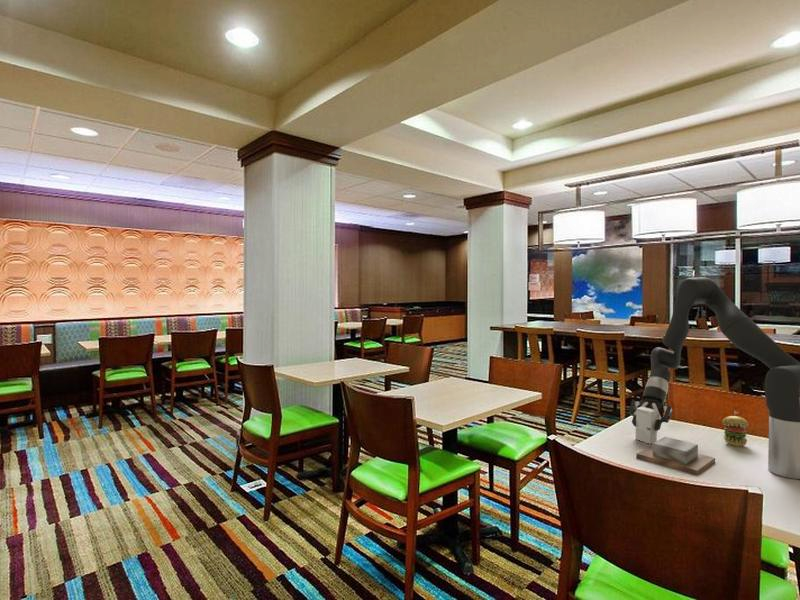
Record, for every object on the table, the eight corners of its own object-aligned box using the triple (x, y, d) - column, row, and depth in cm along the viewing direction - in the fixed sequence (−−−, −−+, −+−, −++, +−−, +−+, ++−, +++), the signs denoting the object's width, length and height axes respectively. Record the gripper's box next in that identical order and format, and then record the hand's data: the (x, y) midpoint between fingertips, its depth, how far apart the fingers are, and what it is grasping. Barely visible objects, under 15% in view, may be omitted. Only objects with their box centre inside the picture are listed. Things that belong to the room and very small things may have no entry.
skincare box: (634, 439, 168) (635, 407, 167) (642, 437, 170) (642, 406, 169) (650, 444, 162) (650, 411, 162) (658, 442, 164) (658, 410, 164)
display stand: (714, 462, 146) (715, 445, 145) (697, 475, 136) (697, 457, 135) (656, 447, 160) (656, 432, 159) (636, 457, 150) (636, 441, 150)
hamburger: (723, 445, 160) (724, 413, 160) (720, 439, 167) (720, 408, 166) (750, 449, 157) (751, 415, 157) (745, 443, 163) (746, 410, 163)
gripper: (633, 382, 176) (622, 418, 168) (674, 388, 165) (664, 426, 158) (638, 393, 180) (627, 428, 172) (678, 400, 169) (668, 437, 161)
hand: (645, 427), depth 165 cm, fingers closed on skincare box, 6 cm apart
